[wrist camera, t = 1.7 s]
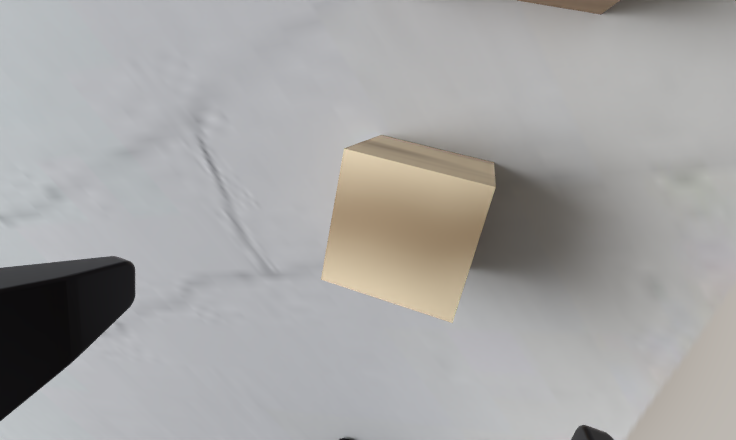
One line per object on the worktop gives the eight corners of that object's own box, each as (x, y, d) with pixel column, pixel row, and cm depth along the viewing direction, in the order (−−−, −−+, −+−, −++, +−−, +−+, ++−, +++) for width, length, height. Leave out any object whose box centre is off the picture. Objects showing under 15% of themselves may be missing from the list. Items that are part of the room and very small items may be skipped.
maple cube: (461, 266, 19) (452, 322, 14) (360, 236, 20) (320, 279, 15) (494, 162, 17) (495, 187, 12) (381, 134, 18) (344, 148, 13)
